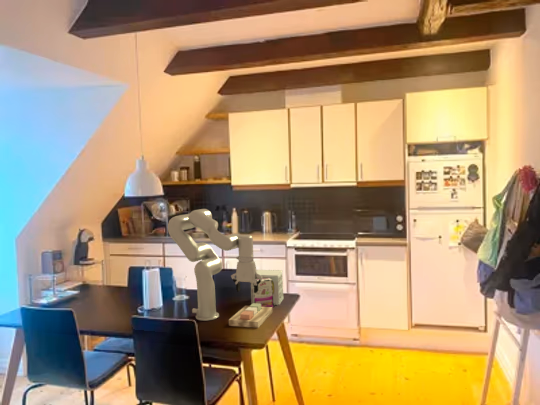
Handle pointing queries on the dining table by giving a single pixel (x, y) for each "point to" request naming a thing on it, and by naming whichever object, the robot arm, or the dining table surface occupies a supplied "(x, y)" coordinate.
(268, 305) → the candy bar box
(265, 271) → the supplement box
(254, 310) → the offwhite key
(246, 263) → the robot arm
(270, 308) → the keypad base
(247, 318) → the terracotta key
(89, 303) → the dining table surface
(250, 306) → the sage key
